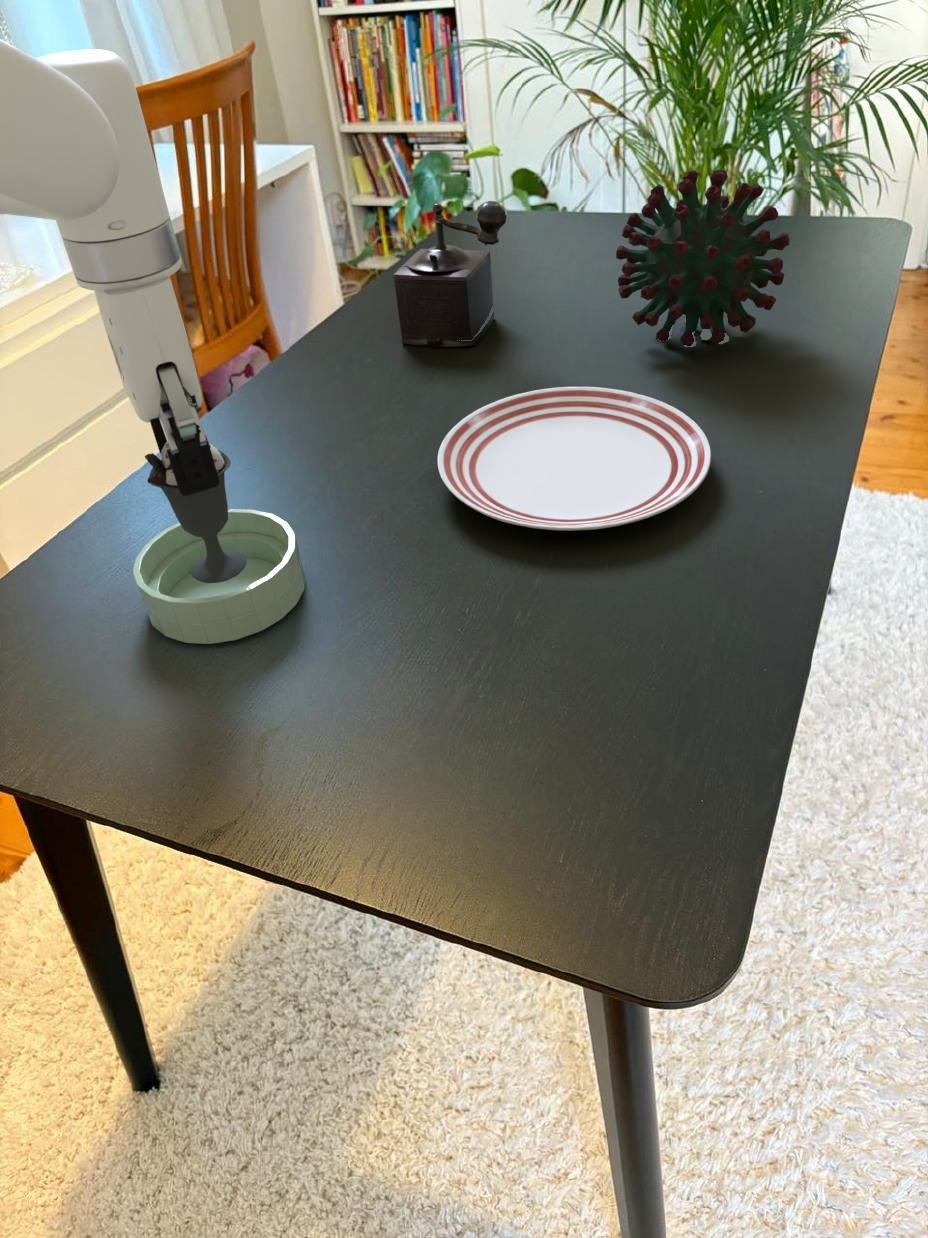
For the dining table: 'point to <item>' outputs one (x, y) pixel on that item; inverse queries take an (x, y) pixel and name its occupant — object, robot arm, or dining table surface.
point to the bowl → (225, 605)
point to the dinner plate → (574, 458)
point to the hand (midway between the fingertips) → (189, 468)
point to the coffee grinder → (449, 285)
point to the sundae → (201, 516)
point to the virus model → (700, 258)
